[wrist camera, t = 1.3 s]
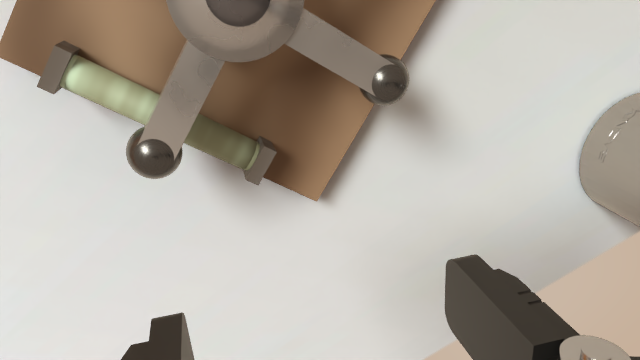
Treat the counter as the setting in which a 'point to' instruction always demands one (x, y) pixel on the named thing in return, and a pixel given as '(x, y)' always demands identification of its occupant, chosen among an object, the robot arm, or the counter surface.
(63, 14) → the stand
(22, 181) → the counter surface
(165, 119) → the capstan
